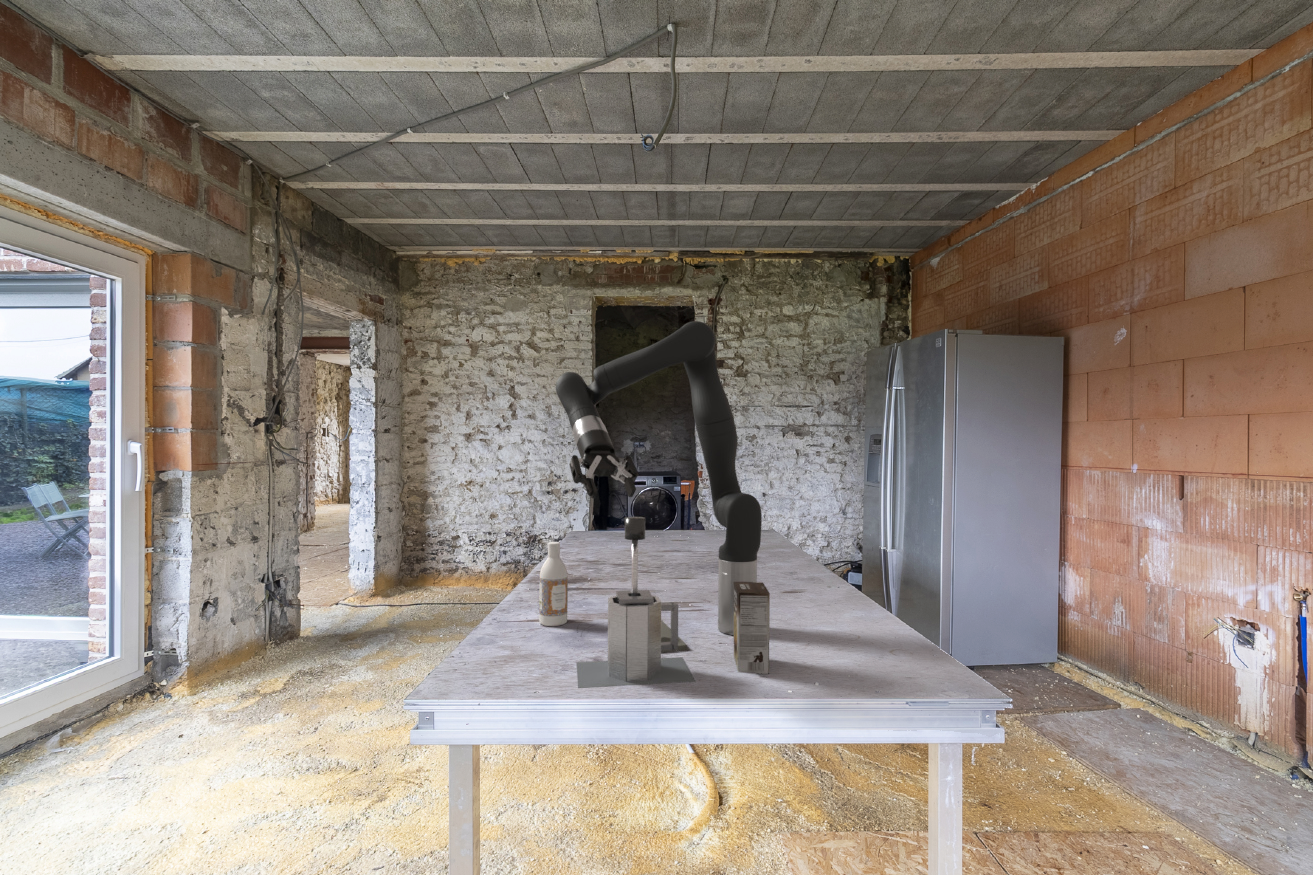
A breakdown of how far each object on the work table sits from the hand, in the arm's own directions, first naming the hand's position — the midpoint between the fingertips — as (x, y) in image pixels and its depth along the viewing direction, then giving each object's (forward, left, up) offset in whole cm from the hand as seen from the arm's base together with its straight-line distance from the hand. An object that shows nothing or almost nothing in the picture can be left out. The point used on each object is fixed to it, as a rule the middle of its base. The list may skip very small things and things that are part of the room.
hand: (613, 495), depth 126 cm
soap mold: (-11, -13, -35) cm, 39 cm away
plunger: (-4, +7, -25) cm, 27 cm away
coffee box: (-28, +6, -34) cm, 45 cm away
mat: (-4, +7, -34) cm, 35 cm away
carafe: (-5, +7, -34) cm, 35 cm away
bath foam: (+12, -29, -34) cm, 47 cm away
